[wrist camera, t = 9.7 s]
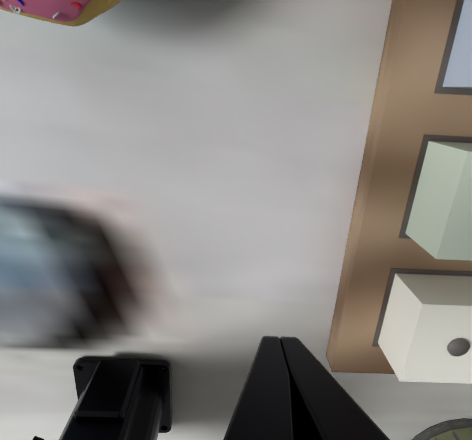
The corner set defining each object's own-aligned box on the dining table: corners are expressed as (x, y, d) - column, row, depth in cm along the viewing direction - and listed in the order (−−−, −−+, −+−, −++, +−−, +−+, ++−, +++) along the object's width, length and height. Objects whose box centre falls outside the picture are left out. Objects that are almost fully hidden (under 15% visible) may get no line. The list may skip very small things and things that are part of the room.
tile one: (455, 345, 22) (490, 385, 19) (377, 343, 21) (400, 383, 18) (480, 276, 20) (523, 309, 17) (395, 273, 20) (424, 305, 17)
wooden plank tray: (467, 359, 24) (482, 377, 22) (326, 355, 24) (332, 372, 22) (635, -87, 15) (679, -106, 13) (411, -104, 15) (431, -125, 13)
